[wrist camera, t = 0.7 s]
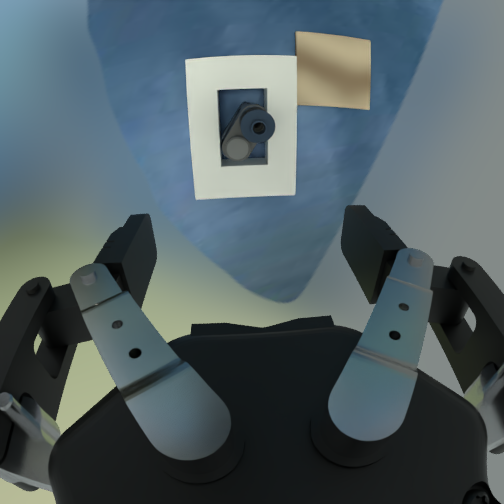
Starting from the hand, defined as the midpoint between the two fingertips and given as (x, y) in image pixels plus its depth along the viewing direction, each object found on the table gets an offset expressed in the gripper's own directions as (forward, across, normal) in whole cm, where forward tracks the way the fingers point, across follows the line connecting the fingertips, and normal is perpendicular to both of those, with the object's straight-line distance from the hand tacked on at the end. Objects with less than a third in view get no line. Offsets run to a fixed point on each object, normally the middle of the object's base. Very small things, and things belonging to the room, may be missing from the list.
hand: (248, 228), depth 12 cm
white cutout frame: (+21, 0, -1) cm, 21 cm away
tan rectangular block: (+21, -10, -7) cm, 24 cm away
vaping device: (+21, 0, -1) cm, 21 cm away
